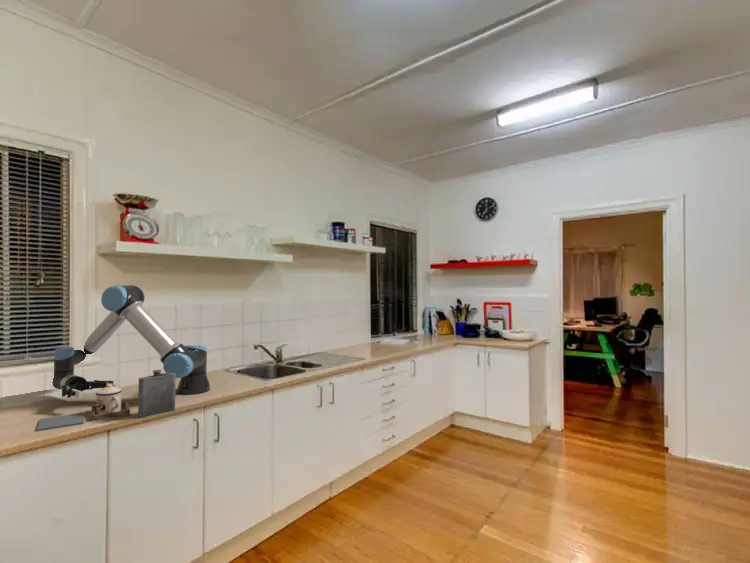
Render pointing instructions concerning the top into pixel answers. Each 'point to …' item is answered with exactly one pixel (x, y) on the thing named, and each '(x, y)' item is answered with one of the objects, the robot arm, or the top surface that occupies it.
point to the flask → (156, 394)
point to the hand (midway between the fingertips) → (98, 391)
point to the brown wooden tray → (112, 414)
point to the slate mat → (60, 421)
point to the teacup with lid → (108, 399)
